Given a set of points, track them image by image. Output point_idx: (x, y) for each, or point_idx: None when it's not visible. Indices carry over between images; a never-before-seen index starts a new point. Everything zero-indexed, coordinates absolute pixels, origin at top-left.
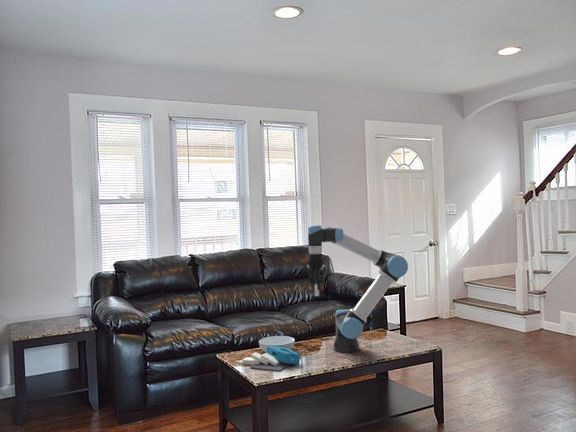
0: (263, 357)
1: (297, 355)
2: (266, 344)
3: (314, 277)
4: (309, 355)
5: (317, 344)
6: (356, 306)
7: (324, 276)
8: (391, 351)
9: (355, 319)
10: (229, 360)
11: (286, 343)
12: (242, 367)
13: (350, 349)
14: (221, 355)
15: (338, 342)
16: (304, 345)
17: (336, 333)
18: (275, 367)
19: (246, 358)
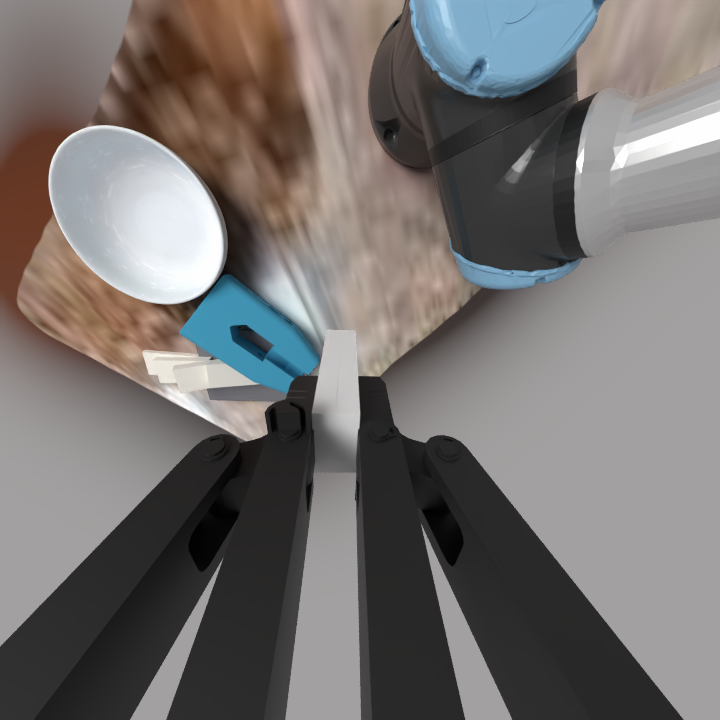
0: (220, 385)
1: (313, 368)
2: (88, 197)
3: (297, 607)
4: (306, 241)
5: (267, 25)
6: (654, 196)
7: (563, 573)
8: (620, 84)
9: (564, 275)
10: (105, 356)
11: (158, 155)
12: (187, 395)
13: (451, 156)
14: (32, 319)
15: (405, 145)
16: (215, 72)
17: (398, 102)
18: (271, 388)
19: (161, 370)
